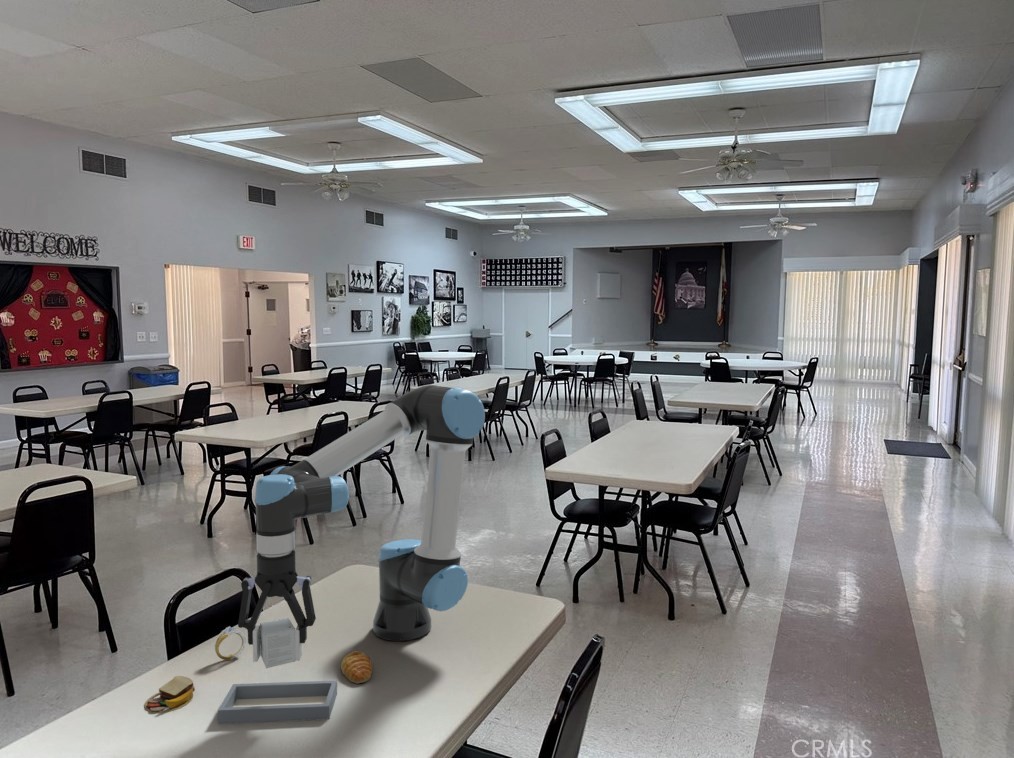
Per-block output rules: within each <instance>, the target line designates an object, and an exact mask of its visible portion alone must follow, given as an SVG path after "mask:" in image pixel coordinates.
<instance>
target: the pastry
mask: <svg viewBox="0 0 1014 758" xmlns="http://www.w3.org/2000/svg"><path fill="white" fill-rule="evenodd" d="M340 669H341V672H342V674H343V676H345V677H346V679H347V680H348V681H350V683H354V684H360V683H361V684H362V683H365V682H369V681H370V679H371V677H372V673H373V664H372V661H371V658H370V657H369V656H368V655H367V654H364V652H362V651H360V650H356V651H354V650H353V651H352V652H350V653H347V654H346V655H345V656H344V657H343V659H342V660H341V666H340Z"/></svg>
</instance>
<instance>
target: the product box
mask: <svg viewBox="0 0 1014 758" xmlns="http://www.w3.org/2000/svg"><path fill="white" fill-rule="evenodd" d="M259 625H260V652H261V655H260V658H261V659H262V662H263V665H264V666H265V669H269V668H270V669H271V668H274V667H278V666H282V665H286V664H291V663H295V662H297V661H296V655H295V630H296V628H295V627H294V624H293V622H292V621H291V619H290V617H285V618H280V619H274V620H270V621H264V622H260V624H259Z"/></svg>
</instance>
